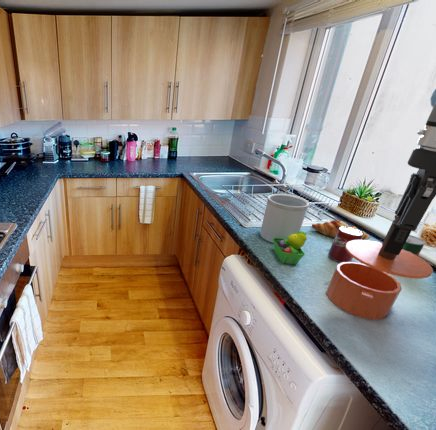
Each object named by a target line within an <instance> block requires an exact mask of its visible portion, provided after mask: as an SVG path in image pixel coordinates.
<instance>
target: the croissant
mask: <svg viewBox="0 0 436 430" xmlns="http://www.w3.org/2000/svg"><path fill="white" fill-rule="evenodd" d="M340 227H350V228H354V229H357V230H359V231H360V232H361V233H362V234H363V236H362V239H361V240H370V239H371V238H372V237H371V236H370V235H368V234H367V233H366V232H365V231H364V230H360V229H358V228H357V227H356V226H355V225H348V224H347V223H346V222H345V221H342V220H336V219H335V220H331V221H325V222H323V223H320V222H317V223H312V224H311V228H312V229H313V230H315V231H317V232H318V233H320V234H322V235H324V236H327V237H331V238H333V239H334V238H335V236H336V233H337V231H338V229H339V228H340Z"/></svg>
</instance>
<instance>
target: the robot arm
mask: <svg viewBox="0 0 436 430" xmlns="http://www.w3.org/2000/svg"><path fill="white" fill-rule="evenodd" d="M429 103H430V106H431V108H432V109H431V111H430V113H429V116H428V118H427V120H426V122H425V125H424V127H423V129H419V130H418V131H417V132H416V134H417V135H418V136H419V137H418V140H417V142H416V145H417V147H414V148H413V149H412V152H411V154H410V156H409V158H408V161H407V165H408V166H410V167H412V168H415V169H418V170H417V171H416V172H413V173H412V174H410V177H409V181H408V184H407V185H406V188H405V190H404V192H403V194H402V197H401V199H400V201H399V203H398V206H397V208H396V210H395V211H394V214H395V215H394V219H393V220H392V223H391V225H390V227H389V228H388V230H387V232H386V235H385V237H384V239H383V241H382V242H381V243H382V245H383V243H384V241H385V239H386V237H387V235H388V233H389V231H390V229H391V227H392V226H393V227H394V229H393V231H392V233H391V235H390V237H389V239H388V241H387V243H386V245H385V247H384V249H383V251H384V252H388V253H392V254H395V255H399V254H400V252H401V250H402V248H403V246H404V244H405V242H406V240H407V239H408V237H409V235H411V233H412V232H416V230H417V229H418V226H419V225H420V223H421V221H422V220H423V218H424V216H425V214H426V212H427V210H428V209H429V207H430V206H431V204H432V202H433V200H434V198H436V88H435V89H434V90H433V92H432V93H431V95H430V100H429ZM397 216H401V218H400V220H399V222H398V223H397V224H394V221H395V219H396V217H397Z"/></svg>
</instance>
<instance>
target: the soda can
mask: <svg viewBox="0 0 436 430" xmlns="http://www.w3.org/2000/svg"><path fill="white" fill-rule="evenodd" d="M357 229H358V228H357ZM357 229H354V228H350V227H340V228H339V229H338V231H337V233H336V236H335V238H334V237H333V241H332V243H331V245H330V249H329V251H328V254H327V255H328V257H329V258H330V259H331V260H332V261H334V262H336V263H338V264H340V263H342V262H353V259H354V258H353V257H352V256H351V255H349V254H348V252H347V251H346V249H345V246H346V243H347V242H349V241H352V240H361V239H362V236H363V234H362V233H361V232H360V231H361V230H360V229H359V230H360V231H359V230H357Z"/></svg>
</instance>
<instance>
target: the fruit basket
mask: <svg viewBox="0 0 436 430" xmlns="http://www.w3.org/2000/svg"><path fill="white" fill-rule="evenodd" d="M307 239H308V236H307V233H306V232H305V231H303V230H300V231H299V232H297V233H296V234H291V235H289V237H288V239H283V238H273V241H274V243H273V251H274V253H275V254H276V256H277V257H278V259H279V260H280V263H282V264H289V265H291V264H292V265H297V264H298V263H299V262H300V260H301V259H302V258H303V257H304V256H305V255H306V253H305V252H304V251H303V250H302V247H304V245H305V242H306V241H307Z"/></svg>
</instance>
